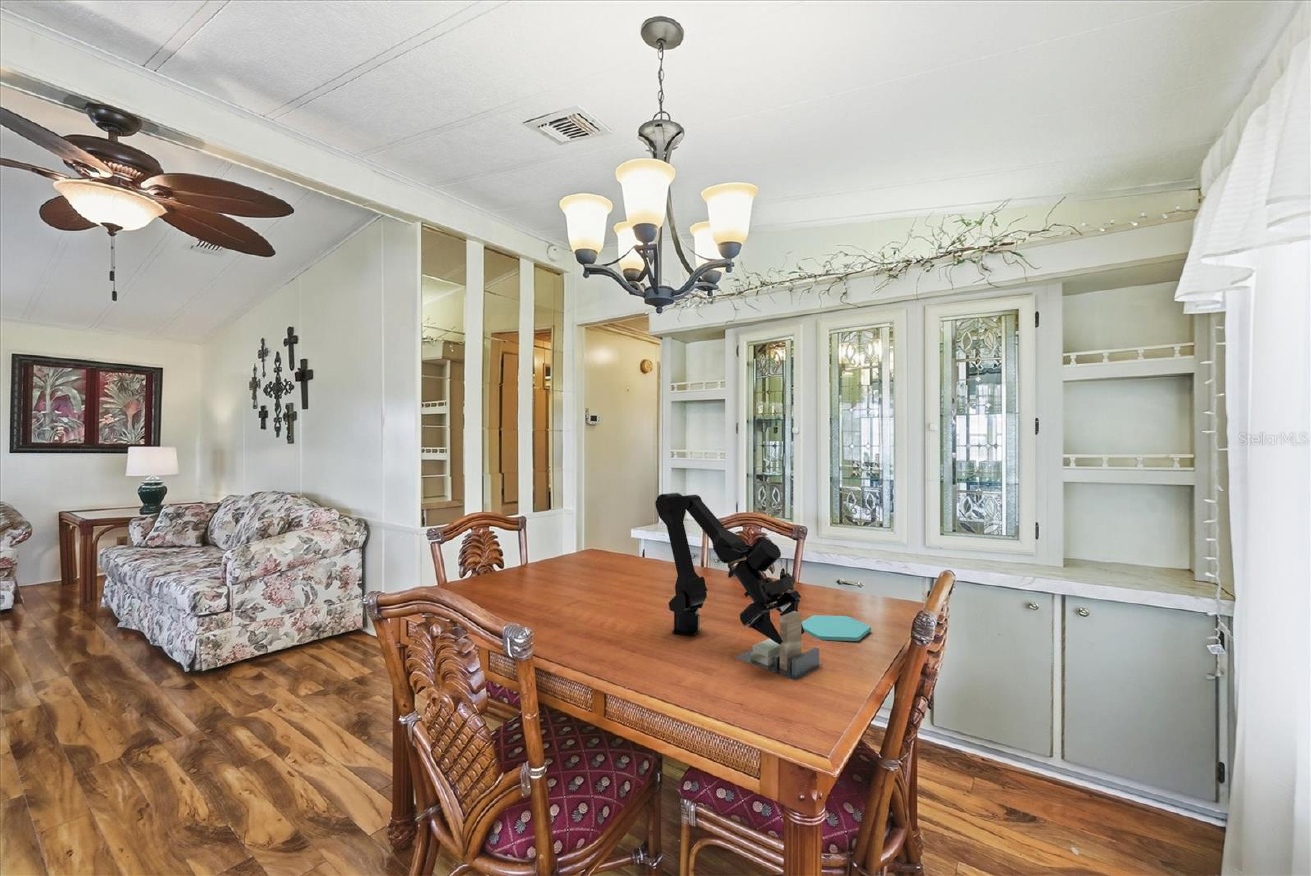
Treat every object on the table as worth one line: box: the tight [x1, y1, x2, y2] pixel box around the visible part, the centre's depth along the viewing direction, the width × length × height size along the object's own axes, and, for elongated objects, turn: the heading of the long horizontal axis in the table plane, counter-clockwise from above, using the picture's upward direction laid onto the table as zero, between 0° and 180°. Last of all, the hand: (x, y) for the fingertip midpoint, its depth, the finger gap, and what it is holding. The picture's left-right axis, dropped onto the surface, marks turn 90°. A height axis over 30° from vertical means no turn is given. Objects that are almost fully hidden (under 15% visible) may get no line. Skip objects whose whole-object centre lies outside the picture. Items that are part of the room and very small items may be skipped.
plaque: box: [801, 614, 872, 642], centre depth 153 cm, size 18×2×20 cm
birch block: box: [779, 611, 803, 671], centre depth 126 cm, size 2×6×12 cm, turn 133°
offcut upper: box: [752, 638, 780, 657], centre depth 131 cm, size 4×7×2 cm, turn 133°
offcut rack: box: [734, 647, 824, 681], centre depth 129 cm, size 17×12×5 cm
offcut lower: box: [751, 652, 780, 666], centre depth 131 cm, size 5×8×2 cm, turn 133°
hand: (792, 638), depth 126 cm, fingers open, 9 cm apart
